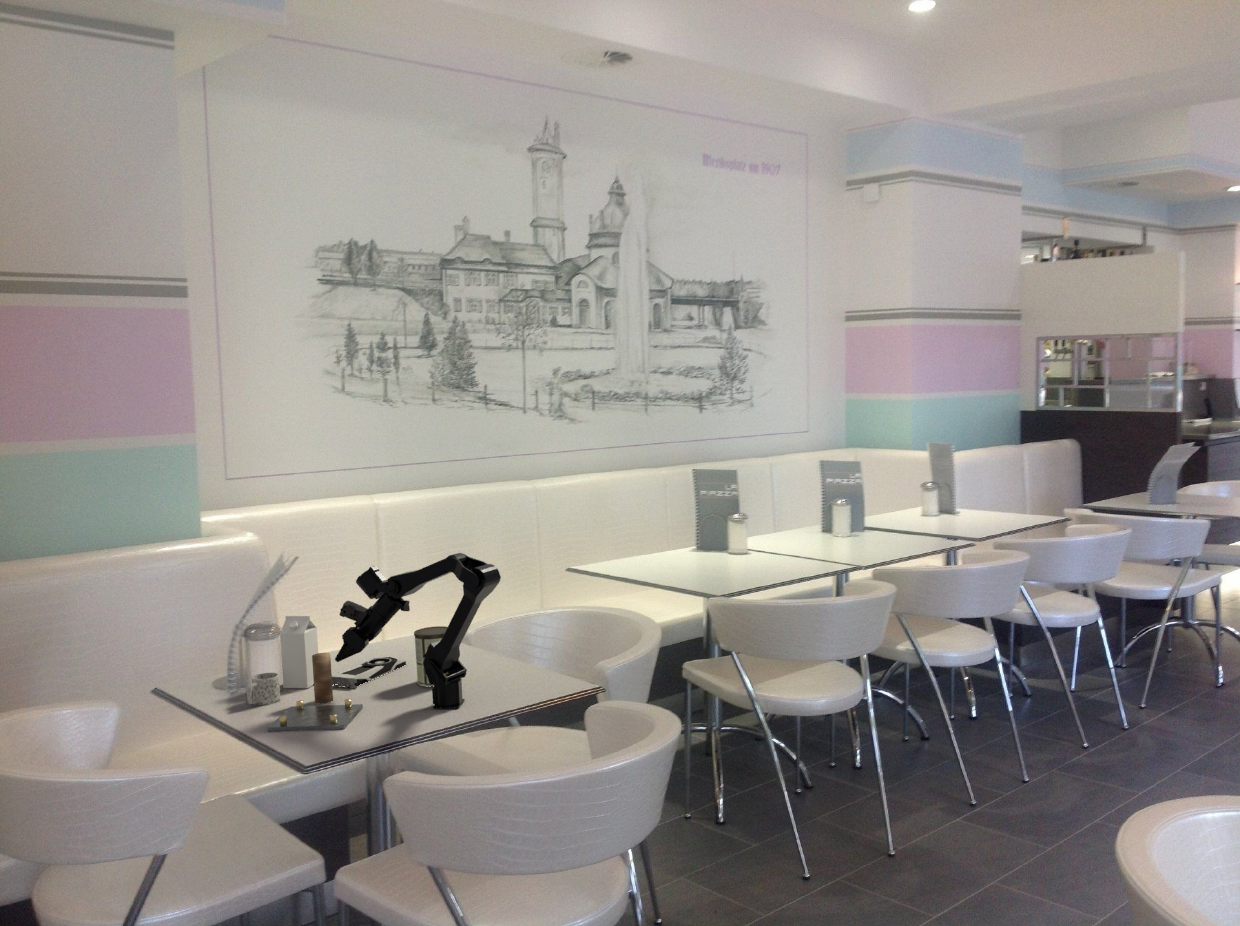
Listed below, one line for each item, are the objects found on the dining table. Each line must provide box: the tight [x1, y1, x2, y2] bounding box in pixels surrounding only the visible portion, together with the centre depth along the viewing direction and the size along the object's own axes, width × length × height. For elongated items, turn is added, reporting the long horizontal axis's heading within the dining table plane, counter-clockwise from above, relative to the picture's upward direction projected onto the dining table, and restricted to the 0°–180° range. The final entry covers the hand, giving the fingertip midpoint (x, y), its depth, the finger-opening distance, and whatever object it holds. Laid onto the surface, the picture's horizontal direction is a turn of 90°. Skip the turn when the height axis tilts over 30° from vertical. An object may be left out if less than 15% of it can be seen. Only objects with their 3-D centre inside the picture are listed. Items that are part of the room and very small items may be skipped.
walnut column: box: [312, 652, 334, 705], centre depth 270 cm, size 4×4×12 cm
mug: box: [246, 672, 281, 706], centre depth 271 cm, size 10×7×7 cm
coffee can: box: [413, 625, 448, 687], centre depth 284 cm, size 10×10×14 cm
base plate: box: [267, 698, 363, 733], centre depth 255 cm, size 18×16×3 cm
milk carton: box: [279, 615, 319, 689], centre depth 286 cm, size 7×7×19 cm
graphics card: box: [332, 655, 407, 689], centre depth 293 cm, size 10×3×25 cm
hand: (341, 656), depth 270 cm, fingers open, 9 cm apart
